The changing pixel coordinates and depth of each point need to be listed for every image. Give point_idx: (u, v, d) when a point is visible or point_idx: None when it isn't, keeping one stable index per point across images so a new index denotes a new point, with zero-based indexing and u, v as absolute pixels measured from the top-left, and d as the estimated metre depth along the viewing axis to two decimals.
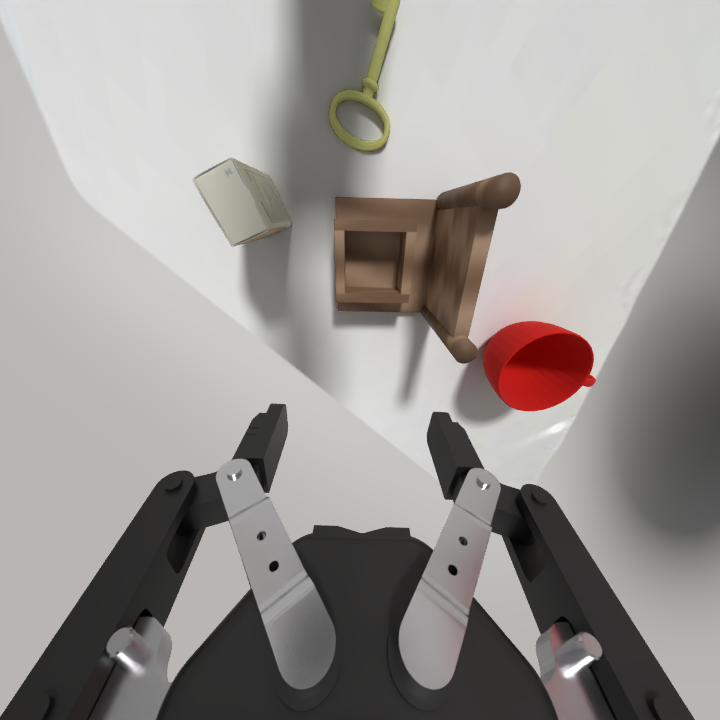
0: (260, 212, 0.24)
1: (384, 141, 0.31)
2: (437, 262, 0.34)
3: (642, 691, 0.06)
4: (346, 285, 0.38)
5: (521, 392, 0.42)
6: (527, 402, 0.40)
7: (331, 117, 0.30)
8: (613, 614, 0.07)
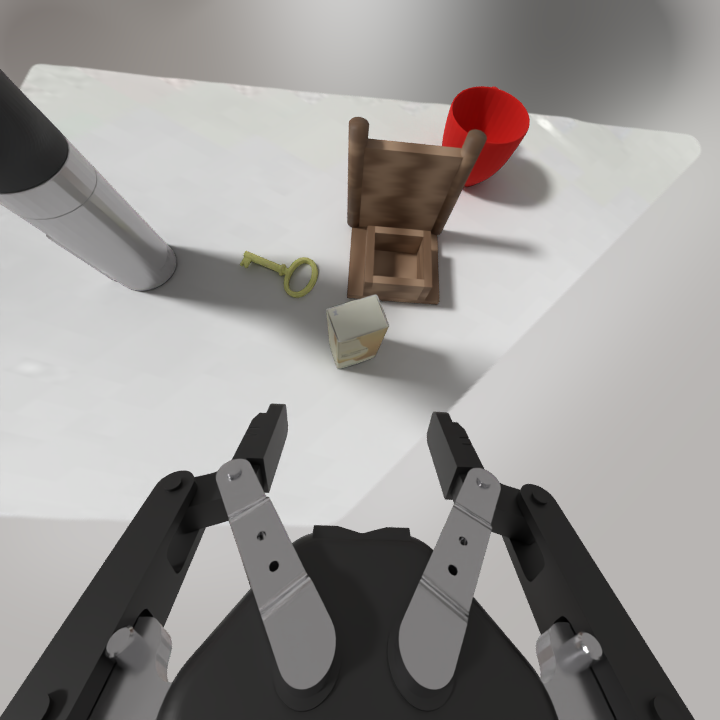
0: None
1: (312, 261, 0.43)
2: (397, 214, 0.42)
3: (642, 691, 0.06)
4: None
5: (509, 140, 0.46)
6: (519, 127, 0.43)
7: (297, 294, 0.41)
8: (613, 614, 0.07)
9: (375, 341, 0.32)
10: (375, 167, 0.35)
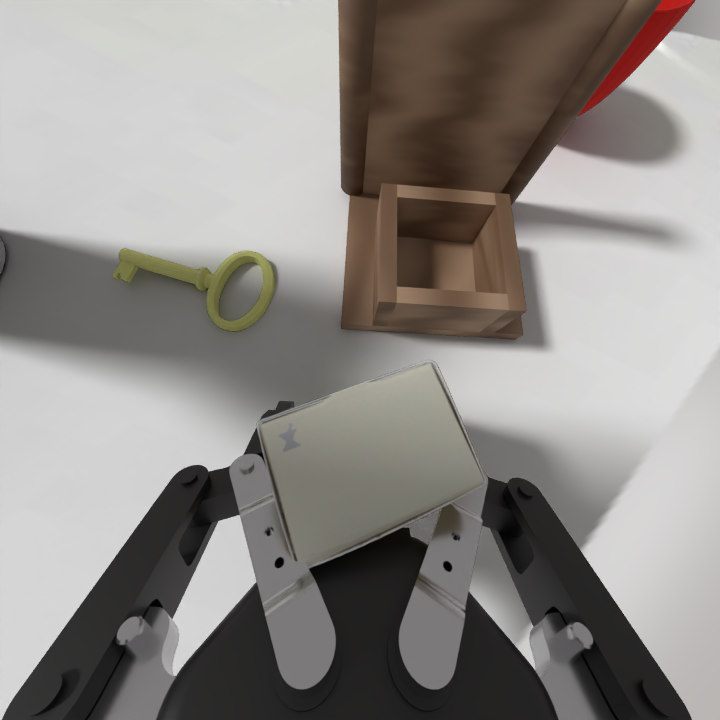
0: (389, 373, 0.09)
1: (262, 256, 0.22)
2: (438, 163, 0.21)
3: (631, 674, 0.06)
4: None
5: None
6: None
7: (236, 324, 0.21)
8: (600, 600, 0.07)
9: None
10: (405, 24, 0.14)
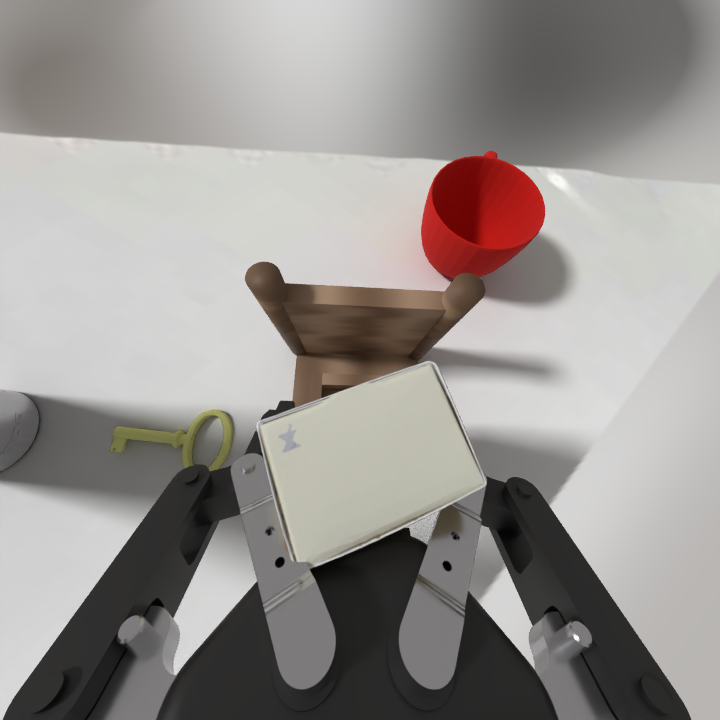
0: (388, 374, 0.09)
1: (220, 412, 0.30)
2: (357, 346, 0.29)
3: (630, 672, 0.06)
4: None
5: (514, 224, 0.33)
6: (530, 211, 0.30)
7: None
8: (598, 599, 0.07)
9: None
10: (308, 316, 0.22)
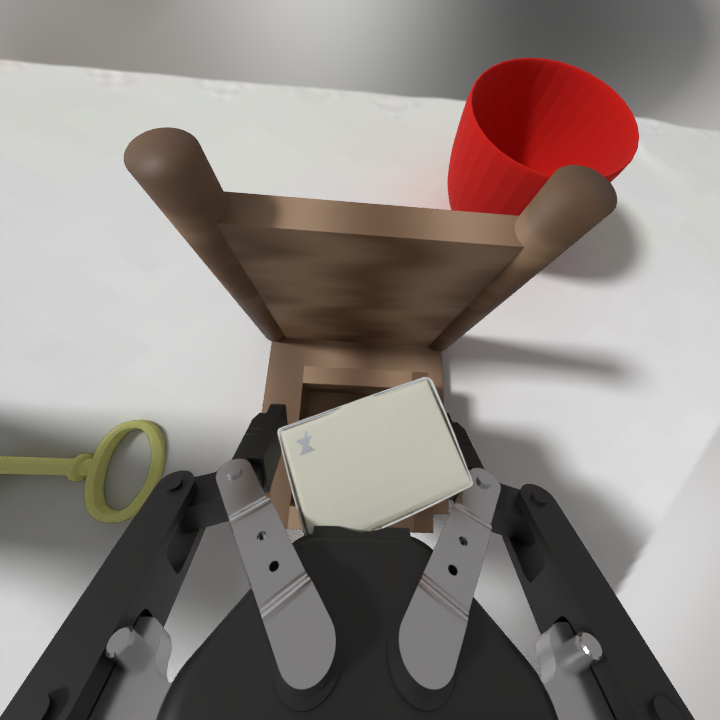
0: (390, 388, 0.10)
1: (145, 423, 0.21)
2: (357, 327, 0.20)
3: (642, 691, 0.06)
4: None
5: None
6: (608, 139, 0.21)
7: (123, 516, 0.19)
8: (613, 614, 0.07)
9: None
10: (272, 263, 0.13)
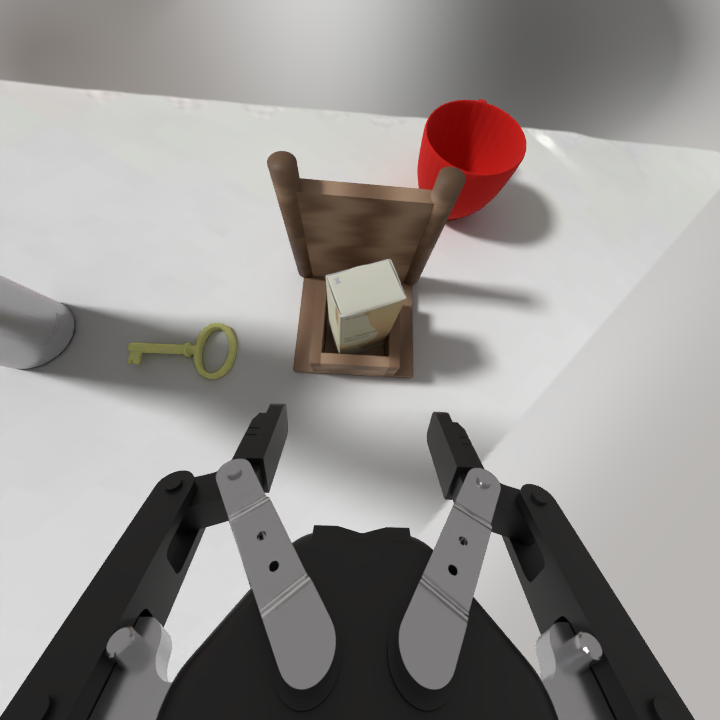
0: (372, 263, 0.23)
1: (224, 325, 0.34)
2: (358, 264, 0.33)
3: (642, 691, 0.06)
4: None
5: (501, 166, 0.37)
6: (514, 150, 0.34)
7: (218, 374, 0.32)
8: (613, 614, 0.07)
9: (387, 321, 0.26)
10: (316, 214, 0.26)
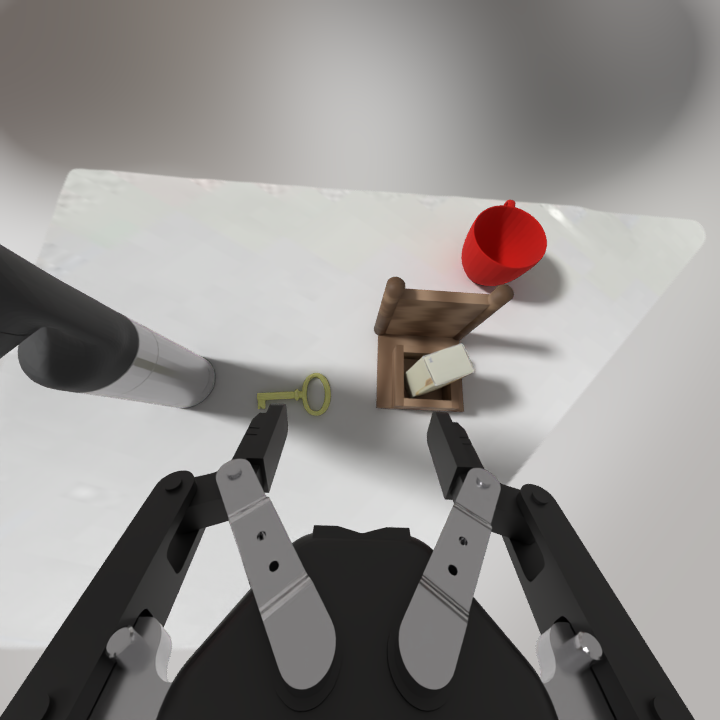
0: None
1: (319, 374, 0.45)
2: (423, 328, 0.45)
3: (642, 691, 0.06)
4: None
5: (526, 249, 0.48)
6: (537, 242, 0.46)
7: (321, 412, 0.44)
8: (613, 614, 0.07)
9: (455, 380, 0.37)
10: (407, 307, 0.37)
